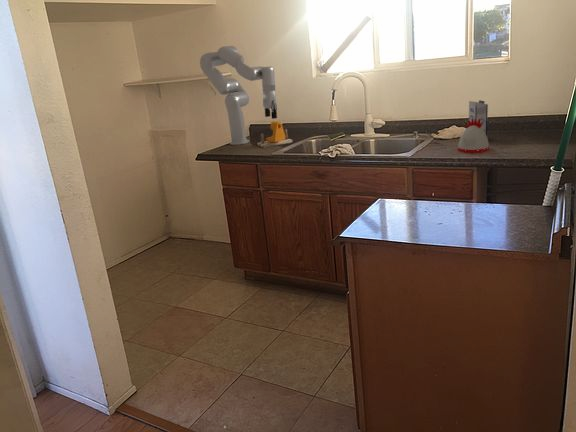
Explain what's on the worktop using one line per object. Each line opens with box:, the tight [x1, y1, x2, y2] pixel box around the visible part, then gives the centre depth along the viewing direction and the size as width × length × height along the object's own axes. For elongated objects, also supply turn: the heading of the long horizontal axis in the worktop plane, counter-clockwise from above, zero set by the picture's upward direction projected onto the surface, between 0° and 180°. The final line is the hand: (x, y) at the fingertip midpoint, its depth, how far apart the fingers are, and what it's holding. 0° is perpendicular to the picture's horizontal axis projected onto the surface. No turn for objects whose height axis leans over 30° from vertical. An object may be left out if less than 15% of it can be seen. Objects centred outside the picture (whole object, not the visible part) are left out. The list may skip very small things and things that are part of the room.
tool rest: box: [257, 128, 293, 148], centre depth 299 cm, size 10×19×8 cm, turn 115°
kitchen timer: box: [457, 118, 490, 154], centre depth 231 cm, size 14×14×15 cm
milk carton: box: [468, 99, 489, 137], centre depth 252 cm, size 7×7×20 cm
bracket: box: [265, 121, 285, 142], centre depth 297 cm, size 11×7×12 cm, turn 146°
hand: (271, 117), depth 295 cm, fingers open, 9 cm apart
